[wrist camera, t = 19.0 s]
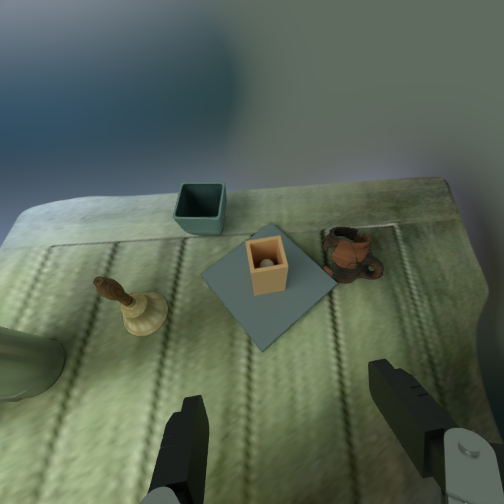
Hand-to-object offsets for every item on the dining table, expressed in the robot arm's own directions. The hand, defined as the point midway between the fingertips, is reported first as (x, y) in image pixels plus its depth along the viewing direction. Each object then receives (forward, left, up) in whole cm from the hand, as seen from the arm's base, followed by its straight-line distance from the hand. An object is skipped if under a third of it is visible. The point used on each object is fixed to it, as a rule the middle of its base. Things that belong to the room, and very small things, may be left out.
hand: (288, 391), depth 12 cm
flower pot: (+10, +33, -33) cm, 48 cm away
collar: (+11, +15, -31) cm, 36 cm away
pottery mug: (+25, +8, -33) cm, 42 cm away
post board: (+11, +15, -33) cm, 38 cm away
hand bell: (-10, +25, -33) cm, 42 cm away
